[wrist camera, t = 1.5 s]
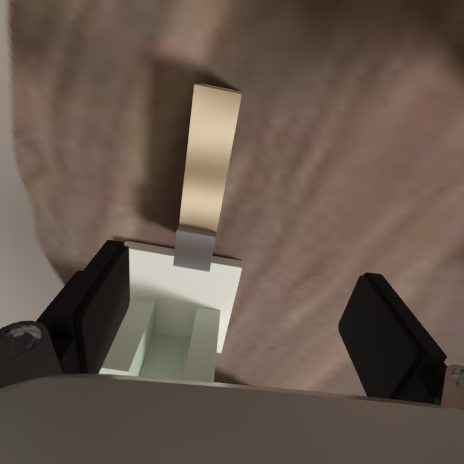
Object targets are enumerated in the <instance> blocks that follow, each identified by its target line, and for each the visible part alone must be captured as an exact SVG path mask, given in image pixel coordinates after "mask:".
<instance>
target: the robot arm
mask: <svg viewBox="0 0 464 464" xmlns="http://www.w3.org/2000/svg"><path fill="white" fill-rule="evenodd" d="M129 304H130V269H129V247H128V246H125V244H124V242H121V241H113V240H107V241H106V242H105V244H104V245H103V246H102V248H101V249H100V250H99V251H98V253H97V254H96V255H95V256H94V258H93V259H92V260H91V262H90V263H89V264H88V265H87V267H86V268H85V269H84V270H83V271H78V272H76V273H75V274H74V275H73V277H72V278H71V279H70V280H69V281H68V283H67V284H66V285H65V286H64V288H63V289H62V290H61V291H60V293H59V294H58V295H57V296H56V297H55V299H54V300H53V301H52V302H51V303H50V305H49V306H48V307H47V308H46V310H45V311H44V312H43V313H42V314H41V316H40V317H39V318H38V319H37V321H21V322H17V323H12V324H10V325H7V326H5V327H2V328H1V329H0V464H464V366H461V365H450V366H448V367H447V366H446V364H445V363H444V361H445V359H446V358H447V356H446V355H445V353H444V352H443V351H442V350H441V348H440V347H439V346H438V345H437V343H436V342H435V341H434V340H433V338H432V337H431V336H430V335H429V333H428V332H427V331H426V330H425V328H424V327H423V326H422V325H421V323H420V322H419V321H418V319H417V318H416V317H415V316H414V314H413V313H412V312H411V311H410V309H409V308H408V307H407V306H406V304H405V303H404V302H403V301H402V299H401V298H400V297H399V296H398V294H397V293H396V292H395V291H394V289H393V288H392V287H391V286H390V284H389V283H388V282H387V280H386V279H385V278H384V277H383V276H382V275H381V274H375V273H365V274H364V275H362V276H360V277H359V279H358V281H357V283H356V285H355V288H354V290H353V292H352V295H351V297H350V299H349V301H348V304H347V306H346V308H345V310H344V313H343V315H342V317H341V320H340V322H339V326H338V329H339V333H340V335H341V337H342V340H343V342H344V344H345V346H346V349H347V351H348V353H349V356H350V358H351V360H352V362H353V365H354V367H355V369H356V371H357V374H358V376H359V378H360V381H361V383H362V385H363V387H364V390H365V392H366V394H367V397H366V396H356V395H345V394H335V393H325V392H315V391H304V390H293V389H282V388H272V387H261V386H250V385H239V384H228V383H216V382H204V381H193V380H181V379H170V378H158V377H144V376H129V375H115V374H99V372H100V370H101V367H102V365H103V363H104V361H105V359H106V356H107V354H108V352H109V350H110V348H111V345H112V343H113V341H114V339H115V337H116V334H117V332H118V330H119V328H120V326H121V323H122V321H123V319H124V317H125V315H126V312H127V310H128V308H129Z"/></svg>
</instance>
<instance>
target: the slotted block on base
mask: <svg viewBox="0 0 464 464" xmlns="http://www.w3.org/2000/svg"><path fill="white" fill-rule="evenodd" d="M124 244H125V246H128V247H129V269H130V304H129V308H128V310H127V312H126V315H125V317H124V319H123V321H122V323H121V326H120V328H119V330H118V332H117V334H116V337H115V339H114V341H113V343H112V345H111V348H110V350H109V352H108V354H107V356H106V359H105V361H104V363H103V365H102V367H101V370H100V372H99V374H115V375H129V376H144V377H158V378H170V379H181V380H193V381H204V382H214V375H215V364H216V353H221V352H222V348H223V344H224V339H225V335H226V331H227V327H228V323H229V319H230V315H231V311H232V307H233V303H234V299H235V295H236V291H237V287H238V283H239V279H240V275H241V271H242V261H240V260H235V259H229V258H223V257H217V256H212V261H211V266H210V272H207V271H201V270H195V269H190V268H184V267H178V266H173V262H174V252H175V249H171V248H165V247H159V246H154V245H148V244H142V243H136V242H131V241H126V242H125V243H124Z"/></svg>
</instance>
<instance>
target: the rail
mask: <svg viewBox="0 0 464 464" xmlns="http://www.w3.org/2000/svg"><path fill="white" fill-rule="evenodd" d="M241 95H242V92H241V91H236V90H231V89H226V88H221V87H217V86H212V85H207V84H194V91H193V101H192V110H191V119H190V128H189V138H188V147H187V156H186V165H185V175H184V184H183V193H182V202H181V211H180V221H179V226H178V229H177V233H176V243H175V252H174V262H173V266H178V267H184V268H190V269H195V270H201V271H207V272H210V266H211V261H212V255H213V250H214V244H215V239H216V233H217V227H218V222H219V216H220V211H221V205H222V200H223V194H224V189H225V183H226V178H227V172H228V167H229V161H230V156H231V150H232V145H233V139H234V134H235V128H236V123H237V117H238V112H239V106H240V101H241Z"/></svg>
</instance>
